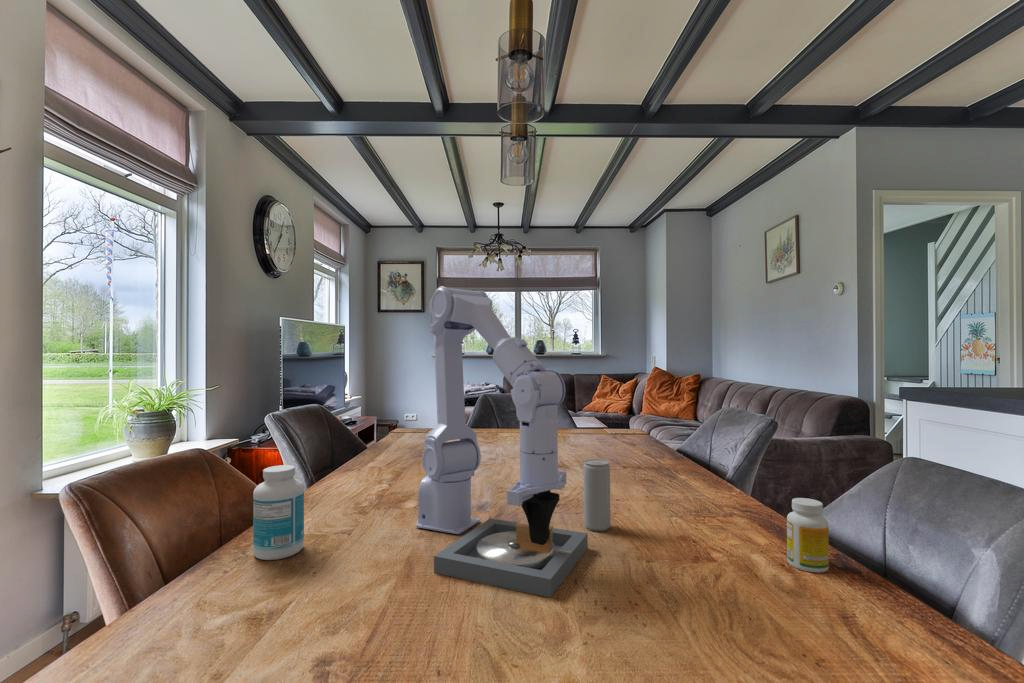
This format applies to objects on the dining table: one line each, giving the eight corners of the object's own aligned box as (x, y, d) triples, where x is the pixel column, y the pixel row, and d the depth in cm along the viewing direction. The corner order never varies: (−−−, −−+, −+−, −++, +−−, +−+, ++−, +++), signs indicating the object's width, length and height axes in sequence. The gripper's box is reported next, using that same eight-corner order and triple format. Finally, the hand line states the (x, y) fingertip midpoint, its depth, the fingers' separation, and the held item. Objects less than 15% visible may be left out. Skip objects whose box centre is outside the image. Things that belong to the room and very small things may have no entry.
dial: (463, 564, 72) (463, 529, 72) (495, 535, 83) (495, 506, 83) (540, 577, 67) (540, 540, 67) (563, 545, 78) (562, 514, 79)
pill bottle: (282, 540, 83) (283, 461, 83) (313, 548, 80) (314, 465, 80) (241, 556, 76) (243, 470, 77) (273, 565, 73) (275, 475, 73)
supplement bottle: (779, 562, 74) (778, 498, 74) (801, 556, 76) (800, 494, 77) (814, 576, 69) (813, 508, 69) (837, 569, 71) (836, 503, 72)
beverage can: (610, 533, 86) (609, 465, 86) (583, 531, 87) (582, 464, 87) (610, 523, 91) (609, 459, 91) (584, 522, 92) (584, 458, 92)
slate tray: (433, 572, 70) (434, 553, 71) (489, 531, 87) (489, 516, 87) (550, 597, 63) (550, 576, 63) (587, 548, 79) (587, 531, 80)
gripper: (537, 462, 65) (538, 565, 64) (583, 446, 77) (584, 533, 76) (494, 456, 68) (494, 554, 68) (544, 442, 81) (544, 524, 80)
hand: (539, 542), depth 72 cm, fingers closed, pressing on dial
